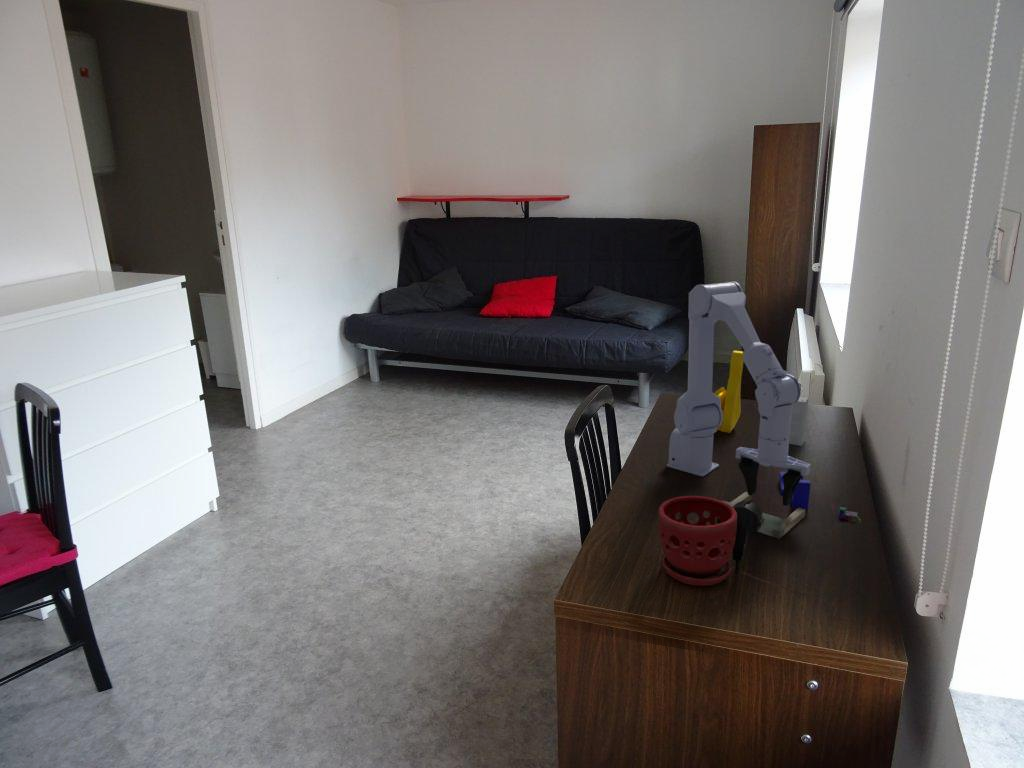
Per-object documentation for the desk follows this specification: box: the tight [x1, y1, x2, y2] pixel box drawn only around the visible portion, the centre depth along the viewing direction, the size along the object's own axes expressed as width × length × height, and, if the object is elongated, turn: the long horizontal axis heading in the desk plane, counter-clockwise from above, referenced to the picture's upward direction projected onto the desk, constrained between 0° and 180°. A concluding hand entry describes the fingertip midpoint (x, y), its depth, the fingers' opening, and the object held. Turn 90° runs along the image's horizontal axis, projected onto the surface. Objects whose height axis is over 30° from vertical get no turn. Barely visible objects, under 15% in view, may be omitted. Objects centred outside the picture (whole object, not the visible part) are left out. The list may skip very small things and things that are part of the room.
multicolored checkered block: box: [838, 506, 862, 524], centre depth 142 cm, size 4×3×2 cm, turn 66°
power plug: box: [731, 501, 764, 575], centre depth 125 cm, size 6×8×12 cm
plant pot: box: [657, 495, 737, 587], centre depth 124 cm, size 13×13×12 cm
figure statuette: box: [713, 350, 744, 434], centre depth 188 cm, size 18×8×22 cm, turn 155°
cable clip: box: [778, 459, 811, 510], centre depth 152 cm, size 12×4×6 cm, turn 166°
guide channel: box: [717, 491, 807, 539], centre depth 144 cm, size 13×12×3 cm
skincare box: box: [789, 396, 810, 447], centre depth 180 cm, size 6×4×12 cm
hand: (768, 498), depth 145 cm, fingers open, 7 cm apart
